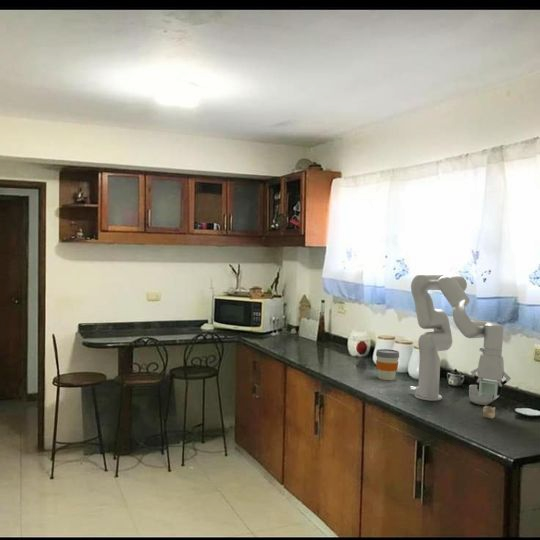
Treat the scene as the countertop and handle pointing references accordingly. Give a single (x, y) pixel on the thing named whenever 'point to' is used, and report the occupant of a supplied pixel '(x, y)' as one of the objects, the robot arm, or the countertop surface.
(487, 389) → the toy fireplace
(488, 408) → the lettered cube
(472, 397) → the teacup
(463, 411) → the countertop surface
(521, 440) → the countertop surface
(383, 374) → the reusable coffee cup
